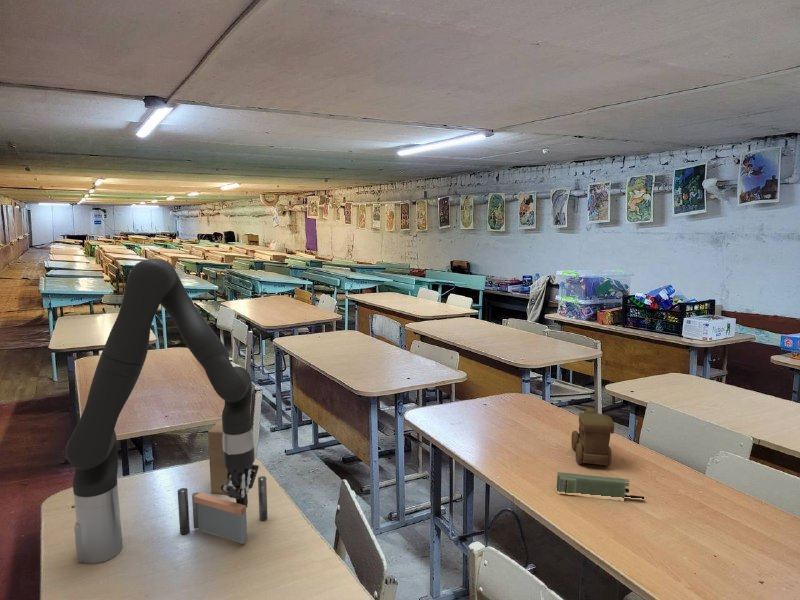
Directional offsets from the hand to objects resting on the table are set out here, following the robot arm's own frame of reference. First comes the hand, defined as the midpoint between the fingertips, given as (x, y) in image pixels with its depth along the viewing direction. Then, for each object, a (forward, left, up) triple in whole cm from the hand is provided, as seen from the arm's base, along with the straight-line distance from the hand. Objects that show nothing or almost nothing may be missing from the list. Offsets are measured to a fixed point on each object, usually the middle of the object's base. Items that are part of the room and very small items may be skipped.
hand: (242, 508), depth 135 cm
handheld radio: (+102, -14, -8) cm, 103 cm away
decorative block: (-3, +28, -8) cm, 29 cm away
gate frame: (-4, +6, -8) cm, 11 cm away
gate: (-6, +1, -7) cm, 9 cm away
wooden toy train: (+117, +8, -8) cm, 117 cm away
